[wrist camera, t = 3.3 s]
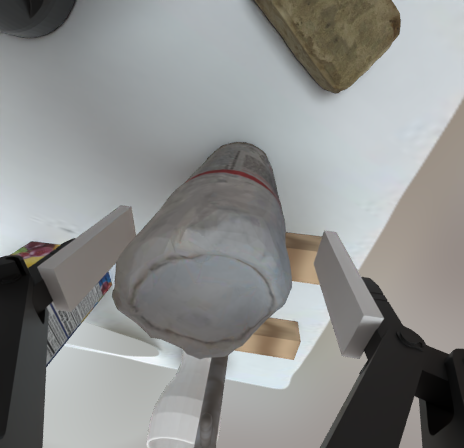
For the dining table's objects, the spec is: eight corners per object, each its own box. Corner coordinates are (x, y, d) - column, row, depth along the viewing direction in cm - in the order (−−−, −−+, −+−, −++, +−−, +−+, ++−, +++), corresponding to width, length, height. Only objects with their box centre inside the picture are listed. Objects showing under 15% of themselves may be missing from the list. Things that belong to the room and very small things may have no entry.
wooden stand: (214, 328, 41) (185, 463, 26) (219, 224, 30) (175, 353, 15) (291, 339, 40) (308, 487, 25) (326, 237, 29) (395, 390, 14)
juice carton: (47, 276, 39) (-191, 475, 19) (31, 241, 36) (-291, 441, 15) (112, 284, 38) (-63, 504, 18) (102, 249, 35) (-135, 475, 14)
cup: (234, 363, 46) (223, 468, 33) (186, 364, 48) (158, 462, 35) (222, 330, 41) (203, 438, 28) (169, 332, 43) (129, 433, 30)
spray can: (205, 132, 24) (69, 219, 7) (281, 141, 24) (329, 255, 7) (203, 203, 29) (114, 363, 11) (268, 211, 28) (276, 392, 11)
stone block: (326, 98, 22) (341, 98, 17) (242, -9, 19) (235, -41, 14) (383, 42, 19) (418, 26, 15) (297, -91, 16) (309, -159, 12)
